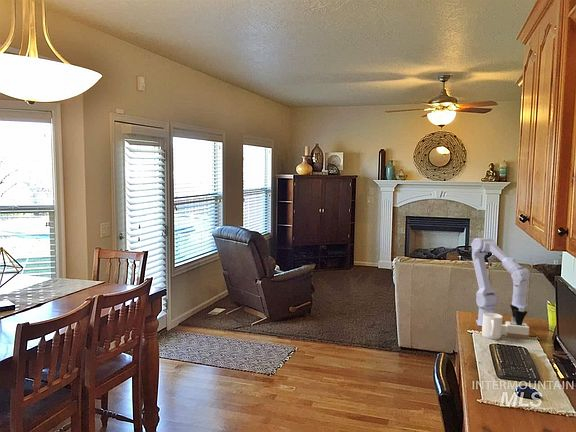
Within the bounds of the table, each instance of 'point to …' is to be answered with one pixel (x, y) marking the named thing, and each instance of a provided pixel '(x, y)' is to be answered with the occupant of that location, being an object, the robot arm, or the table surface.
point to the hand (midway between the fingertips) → (517, 322)
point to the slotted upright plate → (515, 330)
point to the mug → (492, 326)
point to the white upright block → (513, 321)
